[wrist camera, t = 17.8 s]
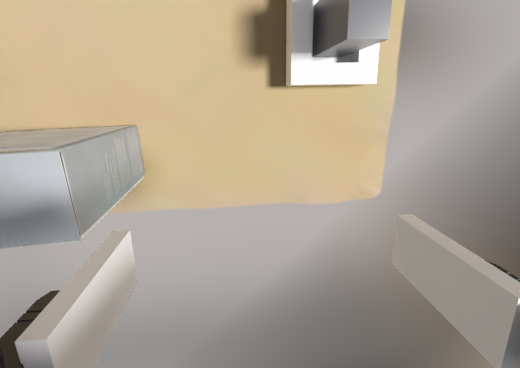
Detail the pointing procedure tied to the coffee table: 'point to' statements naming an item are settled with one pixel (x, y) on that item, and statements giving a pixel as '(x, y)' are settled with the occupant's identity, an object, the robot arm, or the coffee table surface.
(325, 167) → the coffee table surface
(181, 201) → the coffee table surface
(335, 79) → the socket strip
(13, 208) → the hard drive box
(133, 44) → the coffee table surface
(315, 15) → the grey rectangular block
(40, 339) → the robot arm
